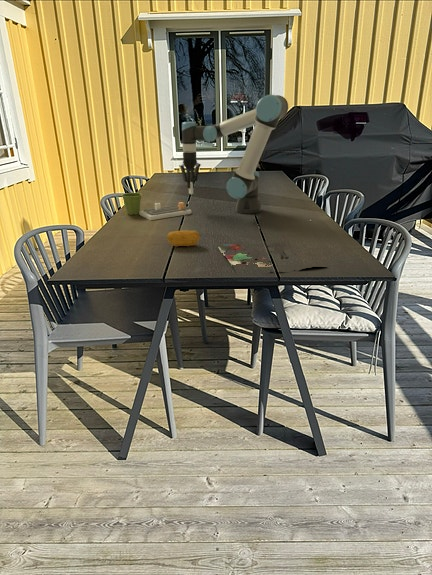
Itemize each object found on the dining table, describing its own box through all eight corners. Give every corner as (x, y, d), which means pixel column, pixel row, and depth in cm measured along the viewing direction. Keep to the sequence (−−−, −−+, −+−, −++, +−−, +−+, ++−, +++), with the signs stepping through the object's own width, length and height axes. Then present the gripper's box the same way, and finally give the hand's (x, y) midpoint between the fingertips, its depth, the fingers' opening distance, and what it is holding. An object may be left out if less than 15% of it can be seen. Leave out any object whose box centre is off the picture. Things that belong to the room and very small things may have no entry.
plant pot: (139, 216, 229) (137, 196, 224) (120, 215, 231) (118, 196, 226) (146, 211, 239) (145, 192, 235) (128, 211, 242) (126, 192, 237)
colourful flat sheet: (239, 279, 144) (239, 274, 143) (217, 249, 175) (217, 245, 174) (327, 269, 151) (327, 264, 150) (290, 242, 182) (290, 238, 181)
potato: (168, 243, 182) (167, 228, 179) (200, 243, 181) (199, 228, 178) (166, 248, 175) (165, 233, 172) (199, 248, 175) (198, 233, 172)
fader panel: (191, 213, 233) (190, 203, 230) (150, 220, 220) (149, 209, 218) (179, 208, 245) (178, 198, 242) (139, 214, 233) (138, 204, 230)
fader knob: (184, 209, 233) (184, 202, 231) (181, 210, 232) (180, 203, 230) (182, 208, 235) (181, 201, 233) (178, 209, 234) (178, 202, 232)
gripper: (196, 150, 229) (197, 191, 239) (176, 151, 223) (178, 193, 233) (202, 151, 224) (203, 193, 233) (182, 152, 217) (183, 196, 227)
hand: (190, 193), depth 233 cm, fingers closed
